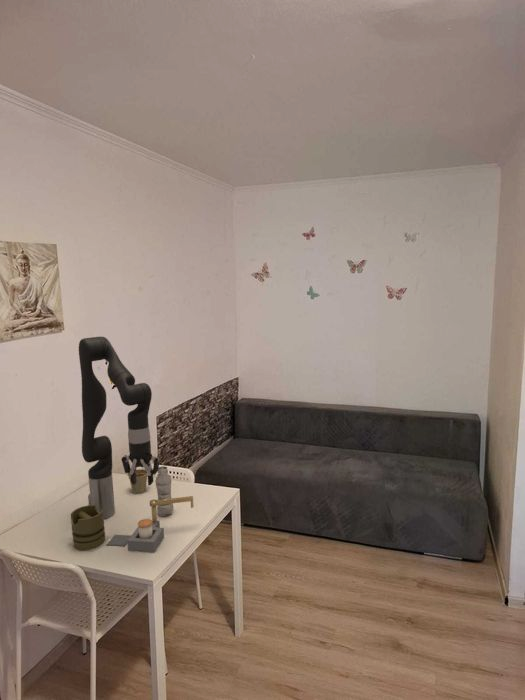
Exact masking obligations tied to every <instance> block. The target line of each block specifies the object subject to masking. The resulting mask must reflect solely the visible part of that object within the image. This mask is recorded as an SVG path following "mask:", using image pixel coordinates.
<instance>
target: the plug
mask: <svg viewBox="0 0 525 700" xmlns="http://www.w3.org/2000/svg"><path fill="white" fill-rule="evenodd" d="M138 526H139V538H146V539H151V537H152V536H153V533H152V519H150V518H144V519H143V518H142V519H141V520H139V521H138V522H137V527H138Z"/></svg>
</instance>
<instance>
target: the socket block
mask: <svg viewBox="0 0 525 700" xmlns="http://www.w3.org/2000/svg"><path fill="white" fill-rule="evenodd" d="M150 507H151V518H152V519H151V520H152V533H153V536H152V537H151V539H146V538H139V526H138V525H137V528H136V529H135V530H134V531H133V533H132V534H130V535H131V536H130V538H129V539H128V540H127V544H126V545H127V551H128V552H140V553H141V552H142V553H155V552H156V551H157V549H158V548H159V546H160V545H161V544H162V542H163V540H164V539H165V529H164V527H161V525H160V524H161V523H160V522H161V521H160V520H158V511H157V506H154V507H152V506H150Z"/></svg>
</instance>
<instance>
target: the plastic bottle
mask: <svg viewBox="0 0 525 700" xmlns="http://www.w3.org/2000/svg"><path fill="white" fill-rule="evenodd" d="M168 472H169V470H168V467H167V466H164V465H163V466H159V469H158V472H157V473H158V474H157V476H156V477H155V480H154V482H155V486H156V493H157V500H162V499H171V498H172V492H171V491H172V477H171V475H170V474H169V473H168ZM156 510H157V514H159V515H160V516H169V515H172V513H173V512H174V503H171V504H163V505H157V506H156Z"/></svg>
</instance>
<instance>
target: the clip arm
mask: <svg viewBox="0 0 525 700" xmlns="http://www.w3.org/2000/svg"><path fill="white" fill-rule="evenodd" d="M186 502H190V508H191V509H192V508H193V509H194V496H193V495H190V496H189V495H188V496H181V497H180V496H179V497H171V499H162V500H158V499H151V500H149V507H151V506H152V507H154V506H156V507H157V505H163V504H171V503H173V504H177V503H178V504H179V503H186ZM152 507H151V508H152Z"/></svg>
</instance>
